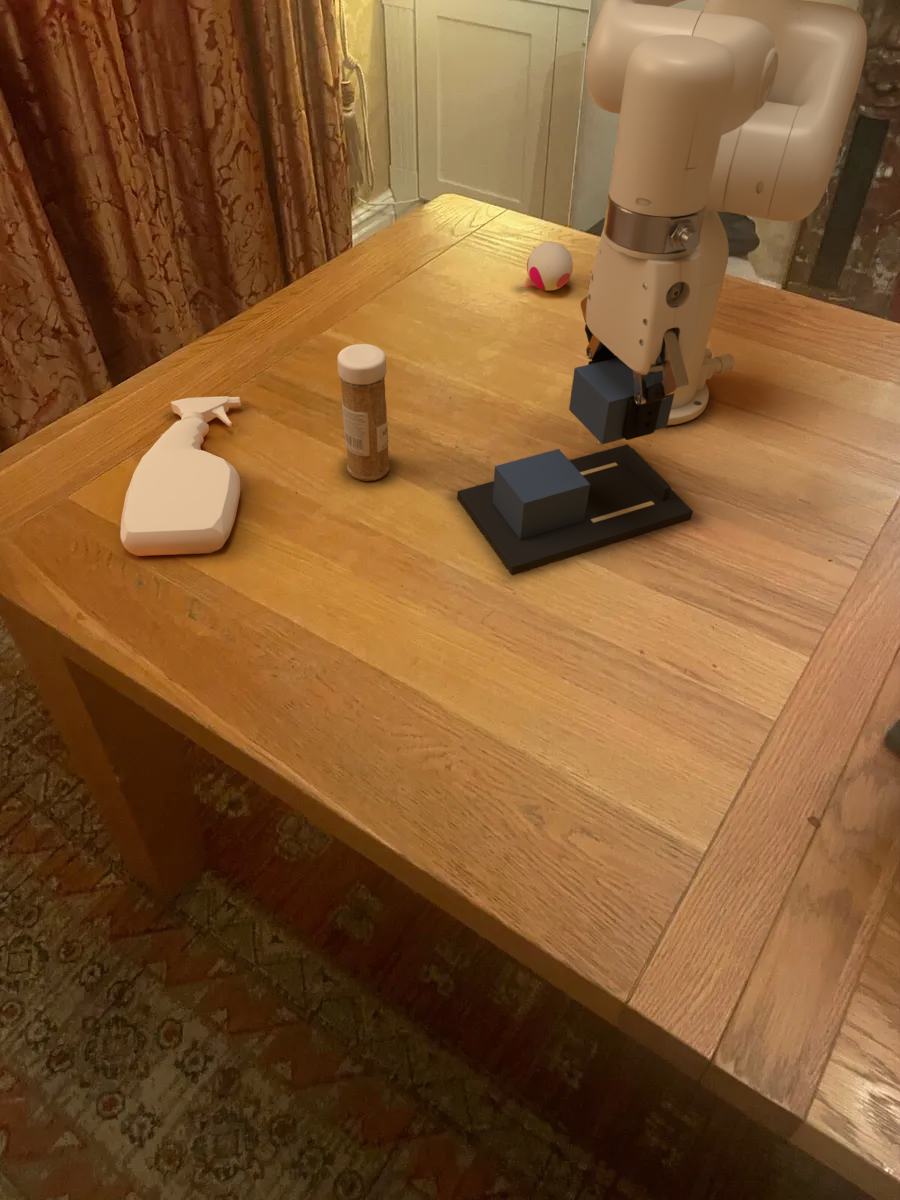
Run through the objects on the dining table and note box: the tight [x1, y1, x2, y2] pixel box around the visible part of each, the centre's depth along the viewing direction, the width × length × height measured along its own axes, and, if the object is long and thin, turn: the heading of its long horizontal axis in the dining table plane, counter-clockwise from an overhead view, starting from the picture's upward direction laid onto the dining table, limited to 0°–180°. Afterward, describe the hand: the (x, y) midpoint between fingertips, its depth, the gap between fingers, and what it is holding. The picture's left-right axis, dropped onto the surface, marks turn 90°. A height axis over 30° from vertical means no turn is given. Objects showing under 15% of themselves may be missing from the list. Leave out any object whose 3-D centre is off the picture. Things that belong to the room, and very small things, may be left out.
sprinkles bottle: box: [336, 343, 391, 482], centre depth 89 cm, size 5×5×13 cm
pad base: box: [457, 443, 694, 575], centre depth 88 cm, size 20×12×6 cm, turn 114°
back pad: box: [568, 358, 674, 445], centre depth 83 cm, size 7×6×4 cm
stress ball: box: [521, 241, 574, 292], centre depth 121 cm, size 8×8×7 cm
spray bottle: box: [119, 395, 242, 557], centre depth 92 cm, size 3×11×24 cm
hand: (618, 413), depth 84 cm, fingers closed on back pad, 6 cm apart
